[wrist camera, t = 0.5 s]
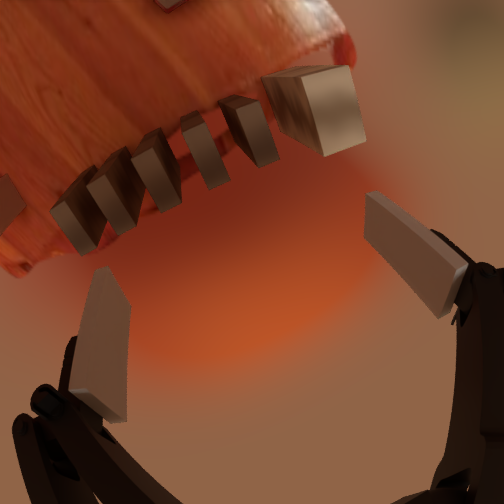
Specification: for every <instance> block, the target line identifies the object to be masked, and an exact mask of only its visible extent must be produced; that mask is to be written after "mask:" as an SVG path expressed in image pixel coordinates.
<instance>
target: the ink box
mask: <svg viewBox="0 0 504 504" xmlns="http://www.w3.org/2000/svg"><path fill="white" fill-rule="evenodd" d="M154 1H155V2H156V3H157V4H158V5H159V6H160V7H161V8H162V9H163V10H164V11H165V12H166V13H170V12H171V11H173V10H174V9H175V8H177V7H178V6H180V5H182V4H183V3H185V2H186V1H188V0H154Z"/></svg>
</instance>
